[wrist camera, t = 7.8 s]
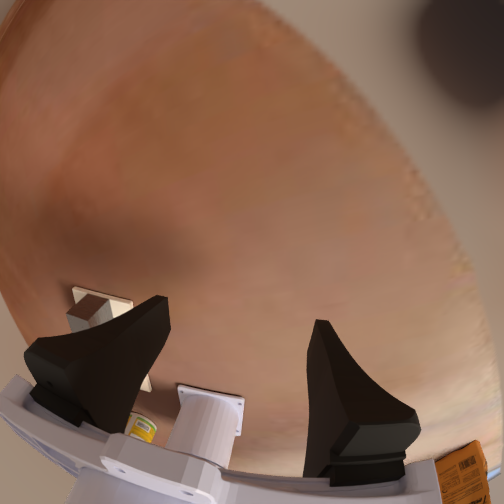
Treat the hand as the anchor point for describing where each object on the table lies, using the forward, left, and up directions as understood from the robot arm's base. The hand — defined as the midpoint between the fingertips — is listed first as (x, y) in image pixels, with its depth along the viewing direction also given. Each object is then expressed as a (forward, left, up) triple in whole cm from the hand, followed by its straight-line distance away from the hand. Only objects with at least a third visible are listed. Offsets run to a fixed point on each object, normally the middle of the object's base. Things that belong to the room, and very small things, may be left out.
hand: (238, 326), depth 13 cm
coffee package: (-42, -48, -10) cm, 64 cm away
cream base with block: (-14, +16, -9) cm, 23 cm away
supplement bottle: (-32, +16, -10) cm, 37 cm away
